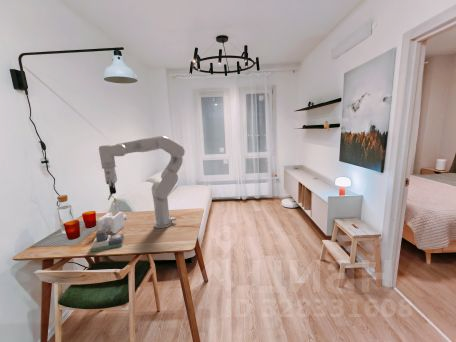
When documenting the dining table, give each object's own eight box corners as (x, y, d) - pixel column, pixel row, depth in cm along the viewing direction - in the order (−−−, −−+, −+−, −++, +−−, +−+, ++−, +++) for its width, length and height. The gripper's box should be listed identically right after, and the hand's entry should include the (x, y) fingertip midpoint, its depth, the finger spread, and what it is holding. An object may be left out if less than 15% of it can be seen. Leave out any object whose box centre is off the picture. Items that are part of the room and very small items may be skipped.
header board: (124, 237, 140) (123, 231, 139) (121, 246, 129) (120, 240, 128) (96, 242, 135) (95, 236, 135) (91, 252, 124) (90, 245, 123)
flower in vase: (114, 217, 173) (109, 187, 168) (128, 216, 174) (124, 186, 169) (106, 224, 161) (101, 192, 156) (122, 223, 162) (117, 191, 157)
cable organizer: (114, 235, 143) (111, 219, 141) (98, 236, 143) (95, 220, 141) (125, 225, 158) (123, 210, 155) (111, 226, 158) (108, 211, 156)
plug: (108, 241, 134) (105, 229, 132) (106, 244, 130) (104, 232, 128) (98, 242, 132) (96, 230, 131) (97, 246, 128) (94, 234, 127)
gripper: (113, 166, 128) (117, 196, 131) (117, 163, 142) (121, 189, 145) (98, 167, 125) (104, 197, 129) (104, 164, 139) (109, 191, 143)
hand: (113, 193), depth 137 cm, fingers closed
